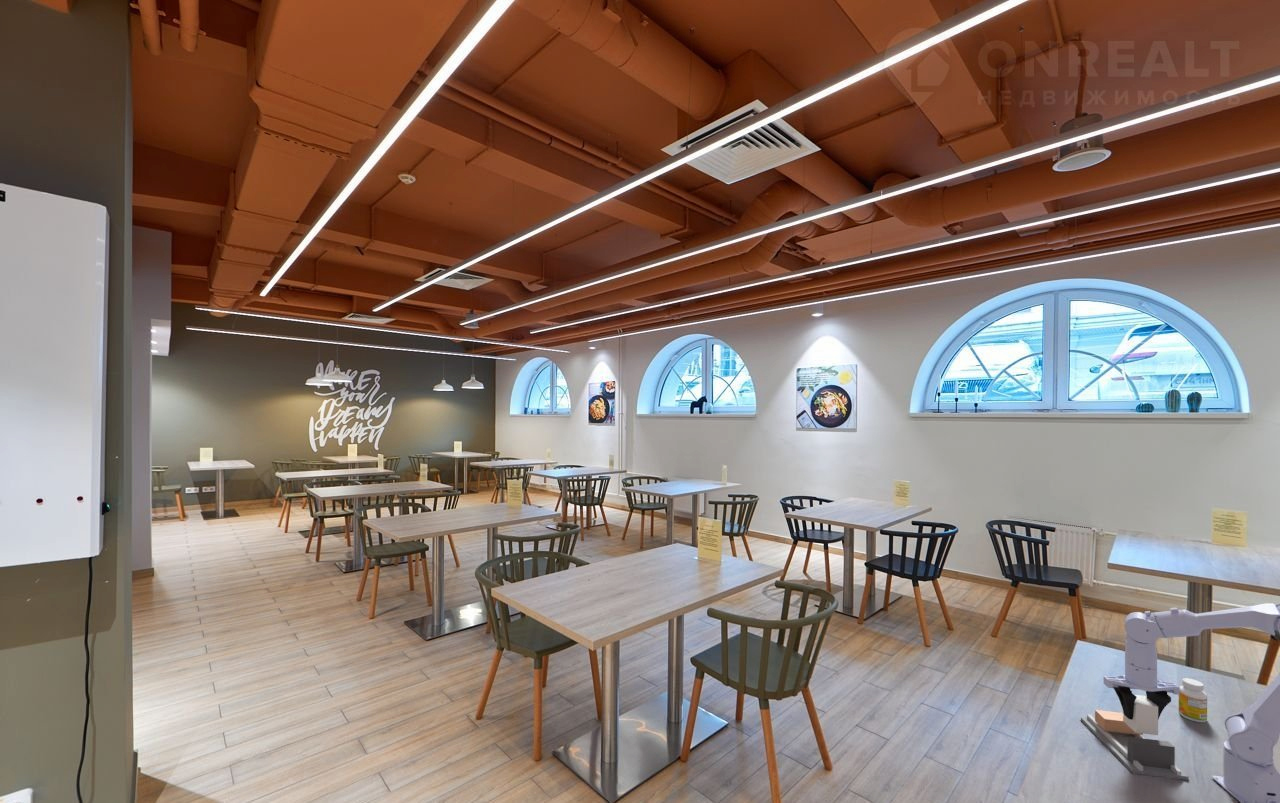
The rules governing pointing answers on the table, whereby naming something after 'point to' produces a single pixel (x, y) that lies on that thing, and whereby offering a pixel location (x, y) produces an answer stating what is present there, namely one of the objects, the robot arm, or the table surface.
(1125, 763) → the rail holder
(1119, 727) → the peach block
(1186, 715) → the supplement bottle
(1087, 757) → the table surface
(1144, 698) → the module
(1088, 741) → the table surface
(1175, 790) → the table surface
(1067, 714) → the table surface
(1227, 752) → the robot arm
